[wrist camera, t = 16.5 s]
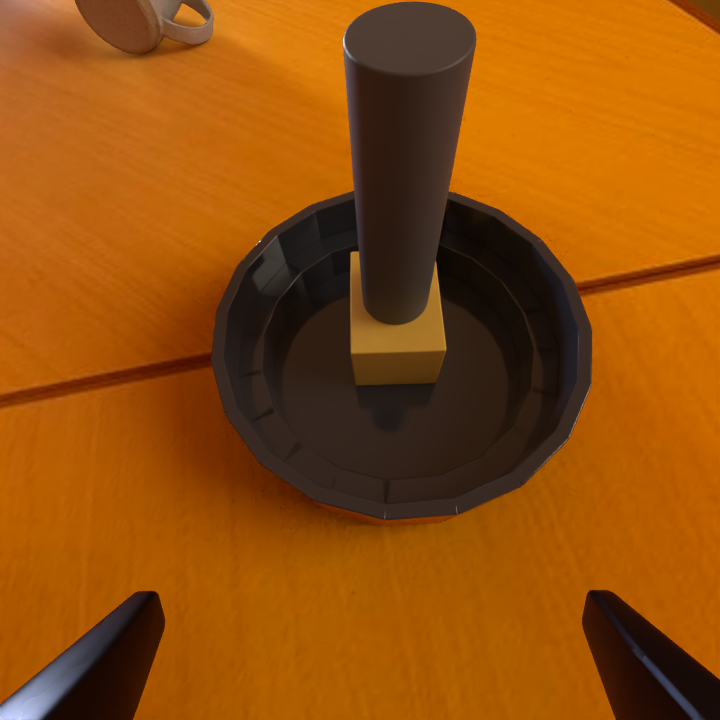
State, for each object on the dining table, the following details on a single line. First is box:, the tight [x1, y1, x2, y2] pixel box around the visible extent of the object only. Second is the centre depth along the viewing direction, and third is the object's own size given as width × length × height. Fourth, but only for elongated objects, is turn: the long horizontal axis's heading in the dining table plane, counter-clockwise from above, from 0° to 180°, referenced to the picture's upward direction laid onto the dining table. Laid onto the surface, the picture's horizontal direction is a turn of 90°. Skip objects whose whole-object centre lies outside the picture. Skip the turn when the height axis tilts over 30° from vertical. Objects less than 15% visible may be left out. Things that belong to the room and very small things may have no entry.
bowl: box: [211, 191, 592, 527], centre depth 21 cm, size 17×17×5 cm
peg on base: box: [343, 2, 476, 385], centre depth 16 cm, size 6×4×15 cm
